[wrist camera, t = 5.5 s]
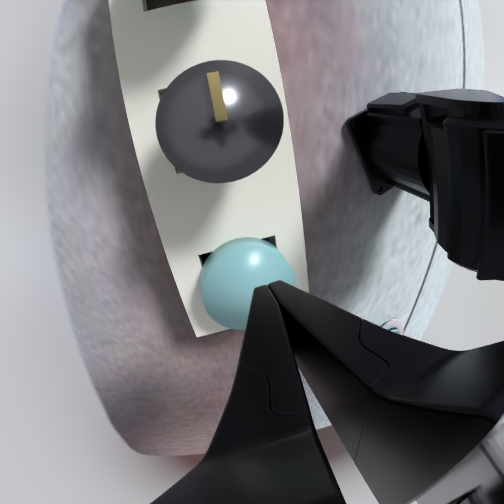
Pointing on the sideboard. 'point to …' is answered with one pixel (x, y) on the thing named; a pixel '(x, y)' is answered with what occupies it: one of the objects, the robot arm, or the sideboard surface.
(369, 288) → the sideboard surface
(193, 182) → the knob housing
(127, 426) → the sideboard surface
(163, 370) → the sideboard surface
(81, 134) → the sideboard surface
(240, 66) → the pot dial
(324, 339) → the robot arm
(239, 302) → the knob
